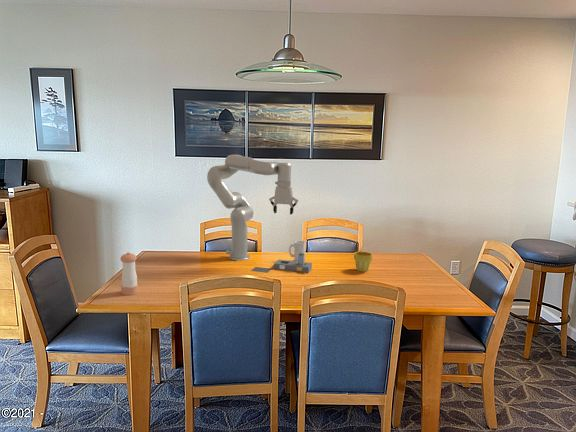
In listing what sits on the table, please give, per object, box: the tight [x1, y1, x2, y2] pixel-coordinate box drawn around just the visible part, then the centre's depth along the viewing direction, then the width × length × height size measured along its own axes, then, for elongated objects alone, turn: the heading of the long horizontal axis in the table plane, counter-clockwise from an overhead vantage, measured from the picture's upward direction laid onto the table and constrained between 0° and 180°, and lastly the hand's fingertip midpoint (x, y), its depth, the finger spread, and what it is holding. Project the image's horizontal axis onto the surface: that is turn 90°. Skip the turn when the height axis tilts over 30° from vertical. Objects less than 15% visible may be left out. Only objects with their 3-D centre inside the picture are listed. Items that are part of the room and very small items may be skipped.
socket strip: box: [273, 259, 313, 274], centre depth 237 cm, size 20×9×4 cm, turn 74°
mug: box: [288, 240, 306, 261], centre depth 253 cm, size 10×7×12 cm, turn 89°
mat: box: [250, 266, 272, 273], centre depth 234 cm, size 10×8×1 cm
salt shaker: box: [120, 252, 139, 296], centre depth 193 cm, size 7×7×19 cm
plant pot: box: [353, 250, 373, 273], centre depth 239 cm, size 10×10×10 cm
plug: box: [298, 253, 306, 266], centre depth 236 cm, size 3×3×10 cm
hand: (283, 213), depth 243 cm, fingers open, 9 cm apart
